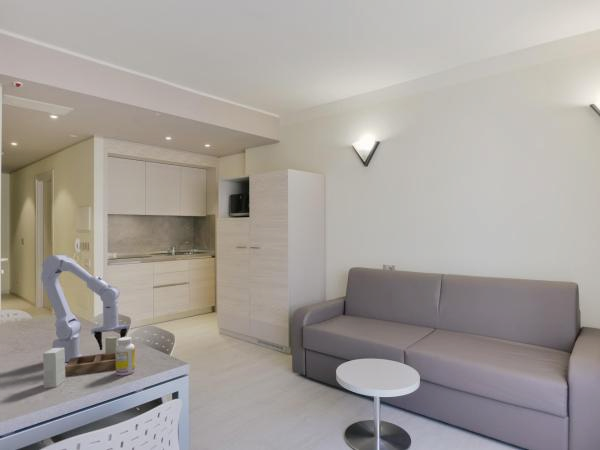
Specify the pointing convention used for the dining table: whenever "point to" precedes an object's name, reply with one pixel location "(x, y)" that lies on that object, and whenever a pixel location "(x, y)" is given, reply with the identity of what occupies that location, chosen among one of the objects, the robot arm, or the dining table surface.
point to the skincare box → (54, 367)
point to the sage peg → (110, 344)
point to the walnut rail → (90, 364)
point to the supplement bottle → (125, 356)
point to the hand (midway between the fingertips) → (111, 348)
